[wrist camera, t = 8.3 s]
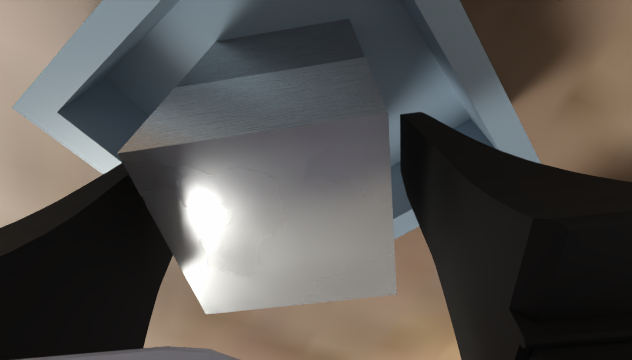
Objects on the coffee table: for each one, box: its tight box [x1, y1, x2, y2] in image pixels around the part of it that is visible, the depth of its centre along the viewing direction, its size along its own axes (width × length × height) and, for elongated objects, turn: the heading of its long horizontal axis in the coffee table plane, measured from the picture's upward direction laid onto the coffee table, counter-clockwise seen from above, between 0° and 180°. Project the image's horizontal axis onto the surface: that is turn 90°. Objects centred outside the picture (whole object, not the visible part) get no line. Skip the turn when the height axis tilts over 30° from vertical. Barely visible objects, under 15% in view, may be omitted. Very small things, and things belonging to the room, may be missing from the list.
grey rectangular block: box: [117, 19, 397, 314], centre depth 12 cm, size 5×5×8 cm
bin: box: [12, 0, 541, 239], centre depth 14 cm, size 13×13×4 cm
